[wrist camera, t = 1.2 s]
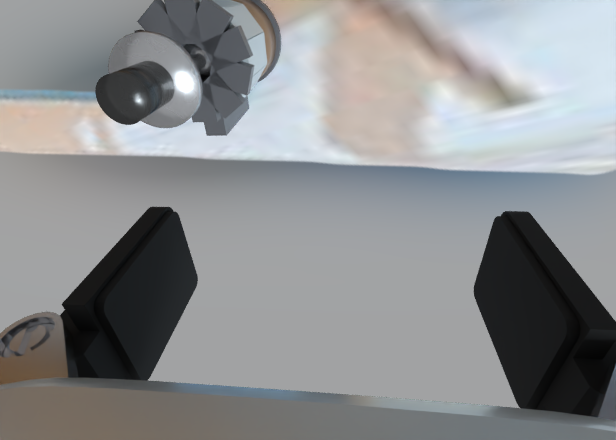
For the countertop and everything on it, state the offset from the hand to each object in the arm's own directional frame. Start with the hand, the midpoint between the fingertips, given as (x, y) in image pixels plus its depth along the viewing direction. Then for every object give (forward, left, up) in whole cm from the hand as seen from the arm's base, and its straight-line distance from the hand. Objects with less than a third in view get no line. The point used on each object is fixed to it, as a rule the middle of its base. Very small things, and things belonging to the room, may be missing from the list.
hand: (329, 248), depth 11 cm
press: (+12, -2, -36) cm, 38 cm away
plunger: (+12, -2, -23) cm, 26 cm away
